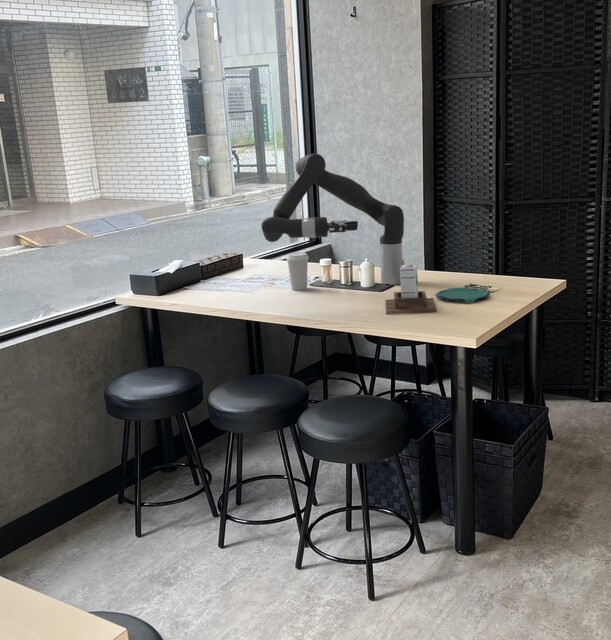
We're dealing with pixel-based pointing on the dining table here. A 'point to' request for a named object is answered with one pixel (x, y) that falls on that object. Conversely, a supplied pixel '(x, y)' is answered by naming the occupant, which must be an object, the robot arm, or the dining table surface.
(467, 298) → the green flat pad
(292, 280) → the coffee cup
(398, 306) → the socket stand
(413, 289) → the syrup box
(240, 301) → the dining table surface
